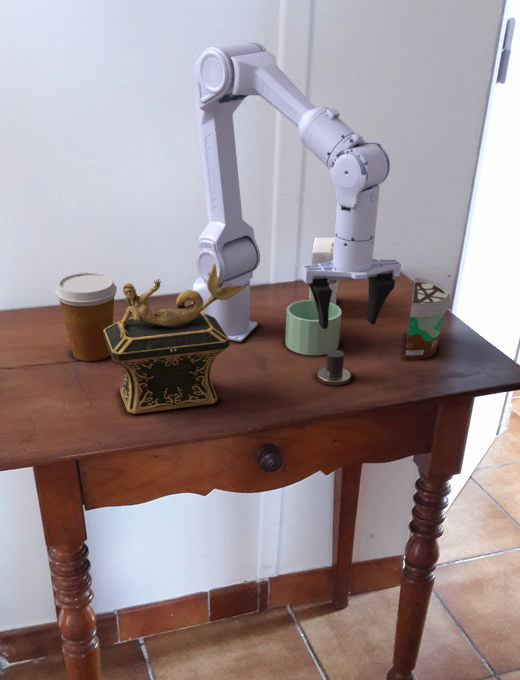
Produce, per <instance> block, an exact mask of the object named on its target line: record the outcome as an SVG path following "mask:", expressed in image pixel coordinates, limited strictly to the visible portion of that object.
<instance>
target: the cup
mask: <svg viewBox="0 0 520 680" xmlns="http://www.w3.org/2000/svg"><path fill="white" fill-rule="evenodd" d="M285 315H286V316H285V334H284V335H285V336H284V338H285V339H284V341H285V342H284V344H285V346H286V348H287V349H289V350H290V351H292V352H294V353H297V354H300V355H303V356H304V355H305V356H323V355H327V352H328V351H330V350H338V348H339V347H340V339H341V338H340V336H341V324H342V308H340V306H339V305H337V304H336V305H335V304H333V303H331V302H330V304H329V314H328V327H327V329H322V327H321V326H320V325H319V318H318V312H317V307H316V303H315V300H309V299H301V300H296V301H294V302H292V303H290V304H289V305H287V307H286V314H285Z"/></svg>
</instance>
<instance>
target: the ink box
mask: <svg viewBox="0 0 520 680" xmlns="http://www.w3.org/2000/svg"><path fill="white" fill-rule="evenodd" d="M334 238H335V237H322V236H321V237H318V236H315V238H314V242H313V246H312V250H311V262H310V265H315V264H320V263H324V262H328V261H333V252H334ZM328 283H329V287H330V288H331V290H332V295H331V299H330V302H331V303H333V304H335V305H337V300H338V299H337V297H338V286H339V279H337V280H328ZM308 291H309V292H308V300H314V297H313V294H312V291H311V289H310V288H309V290H308Z"/></svg>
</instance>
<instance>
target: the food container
mask: <svg viewBox="0 0 520 680" xmlns="http://www.w3.org/2000/svg"><path fill="white" fill-rule="evenodd" d="M450 308H451V295H450V292H449V290H448V288H447V287H446V286H445V285H443V284H441V283H439V282H437V281H434V280H431V279H427V278H422V277H414V284H413V289H412V299H411V306H410V316H409V321H408V329H407V337H406V345H405V352H404V353H405V354H404V360H423V359H427V358H430V357H432V356H433V355H435V354H436V352H437V348H438V344H439V339H440V335H441V331H442V327H443V322H444V318H445V313H447V311H449V310H450Z"/></svg>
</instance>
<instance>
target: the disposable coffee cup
mask: <svg viewBox="0 0 520 680" xmlns="http://www.w3.org/2000/svg"><path fill="white" fill-rule="evenodd" d="M117 291H118V288H117V286H116V285H115V283H114V280H113V278H112V277H111V276H110V275H107V274H105V273H100V272H93V271H91V272H89V271H87V272H85V271H84V272H77V273H75V272H74V273H71V274H68V275H65V276H63V277H61V278H60V279H59V280H58V281H57V284H56V288H55V291H54V293H55V296H56V297H57V299H58V301H59V305H60V308H61V313H62V316H63V319H64V324H65V328H66V333H67V336H68V341H69V344H70V348H71V353H72V355H73V358H75V359H77V360H80V361H84V362H96V361H97V362H98V361H102V360H105V359H106V358H109V357H110V356H111V354H110V351H109V349H108V346H107V343H106V341H105V338H104V334H103V330H104V329H105V328H107V327H109V326H111V325H113V324H114V312H115V311H114V310H115V297H116V293H117Z"/></svg>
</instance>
